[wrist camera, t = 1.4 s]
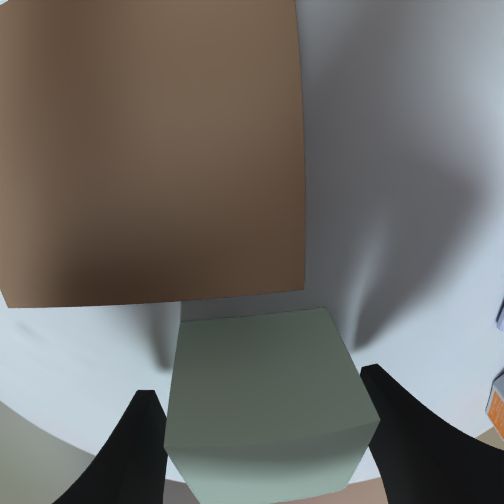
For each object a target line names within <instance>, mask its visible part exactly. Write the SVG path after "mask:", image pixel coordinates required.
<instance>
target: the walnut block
mask: <svg viewBox="0 0 504 504" xmlns="http://www.w3.org/2000/svg"><path fill="white" fill-rule="evenodd" d="M304 277H305V152H304V122H303V100H302V82H301V66H300V52H299V40H298V28H297V17H296V7H295V0H9V1H7V2H5V3H3V4H2V5H0V290H1V292H2V295H3V297H4V299H5V302H6V304H7V306H8V308H47V307H82V306H107V305H127V304H144V303H160V302H175V301H188V300H201V299H213V298H225V297H236V296H246V295H257V294H267V293H276V292H285V291H295V290H303V289H304Z"/></svg>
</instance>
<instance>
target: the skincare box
mask: <svg viewBox="0 0 504 504" xmlns="http://www.w3.org/2000/svg"><path fill="white" fill-rule="evenodd" d="M485 413H486V415H487V416H488V418H489V419H490V421H491V422H492V424H493V425H494V427H495V429H496V430H497V432H498V433H499V435H500V437H501V438H502V440H503V442H504V374H503V375H501V376H500V377H499V378H498V379H496V380H495V381H494V382H493V387H492V391H491V395H490V399H489V402H488V405H487V409H486V411H485Z"/></svg>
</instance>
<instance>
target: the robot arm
mask: <svg viewBox="0 0 504 504" xmlns="http://www.w3.org/2000/svg"><path fill="white" fill-rule="evenodd" d="M497 328H498V329H499V330H500V331H504V307H503V310H502V313H501V315H500V318H499V320H498V323H497ZM360 377H361V379H362V381H363V383H364V386H365V388H366V390H367V392H368V394H369V396H370V398H371V400H372V403H373V405H374V407H375V409H376V411H377V413H378V416H379V418H380V422H379V424H378V426H377V429H376V431H375V433H374V435H373V437H372V439H371V441H370V443H369V445H368V446H369V449H370V451H371V453H372V456H373V458H374V460H375V462H376V465H377V467H378V469H379V472H380V475H381V478H382V480H383V484H384V488H385V492H386V495H387V499H388V504H504V451H503V450H501V449H497V448H495V447H492V446H490V445H488V444H485V443H483V442H481V441H479V440H477V439H475V438H473V437H471V436H469V435H467V434H465V433H463V432H462V431H460V430H458V429H457V428H455V427H453V426H452V425H450V424H449V423H447V422H446V421H444V420H443V419H441V418H440V417H439V416H437V415H436V414H435V413H433V412H432V411H431V410H429V409H428V408H427V407H426V406H424V405H423V404H422V403H421V402H420V401H418V400H417V399H416V398H415V397H414V396H412V395H411V394H410V393H409V392H408V391H407V390H406V389H404V388H403V387H402V386H401V385H400V384H399V383H398V382H397V381H396V380H395V379H394V378H392V377H391V376H390V375H389V374H388V373H387V372H386V371H385V370H384V369H383V368H382V367H381V366H379V365H378V364H373V365H369V366H364V367H362V369H361V373H360ZM166 421H167V418H166V415H165V413H164V411H163V409H162V407H161V404H160V402H159V400H158V397H157V395H156V393H155V390H137V391H136V393H135V395H134V396H133V398H132V400H131V402H130V404H129V405H128V407H127V409H126V411H125V412H124V414H123V416H122V417H121V419H120V421H119V422H118V424H117V426H116V427H115V429H114V430H113V432H112V434H111V435H110V437H109V438H108V440H107V441H106V443H105V444H104V446H103V447H102V448H101V450H100V451H99V453H98V454H97V456H96V457H95V458H94V460H93V461H92V462H91V464H90V465H89V466H88V467H87V469H86V470H85V471H84V472H83V473H82V475H81V476H80V477H79V478H78V479H77V480H76V481H75V482H74V483H73V484H72V485H71V487H70V488H69V489H68V490H67V491H66V492H65V493H64V494H63V495H61V496H60V498H58V499H57V500H56V501H55V502H54V503H52V504H163V492H164V483H165V475H166V466H167V458H168V454H167V452H166V450H165V449H164V439H165V430H166Z"/></svg>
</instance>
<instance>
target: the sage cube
mask: <svg viewBox="0 0 504 504" xmlns="http://www.w3.org/2000/svg"><path fill="white" fill-rule="evenodd" d="M379 422H380V418H379V416H378V413H377V411H376V409H375V407H374V405H373V403H372V400H371V398H370V396H369V394H368V392H367V390H366V388H365V386H364V383H363V381H362V379H361V377H360V375H359V373H358V371H357V369H356V367H355V365H354V363H353V361H352V359H351V357H350V354H349V352H348V350H347V348H346V346H345V344H344V342H343V340H342V338H341V336H340V334H339V332H338V330H337V328H336V326H335V324H334V322H333V320H332V318H331V316H330V314H329V312H328V311H327V309H326V307H322V308H314V309H307V310H298V311H290V312H281V313H272V314H263V315H253V316H243V317H232V318H220V319H207V320H193V321H181V322H180V328H179V334H178V340H177V347H176V353H175V360H174V367H173V374H172V381H171V389H170V396H169V404H168V412H167V421H166V430H165V439H164V449H165V450H166V452H167V454H168V455H169V457H170V459H171V460H172V462H173V464H174V465H175V467H176V468H177V470H178V471H179V473H180V475H181V476H182V478H183V479H184V481H185V482H186V484H187V485H188V486H189V488H190V489H191V491H192V492H193V494H194V495H195V497H196V498H197V499H198V501H199V502H200V503H201V504H269V503H278V502H284V501H291V500H298V499H303V498H308V497H314V496H319V495H323V494H328V493H332V492H337V491H341V490H344V489H345V487H346V485H347V484H348V482H349V480H350V479H351V477H352V475H353V473H354V472H355V470H356V468H357V466H358V464H359V462H360V461H361V459H362V457H363V455H364V453H365V451H366V449H367V447H368V445H369V443H370V441H371V439H372V437H373V435H374V433H375V431H376V429H377V426H378V424H379Z"/></svg>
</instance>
